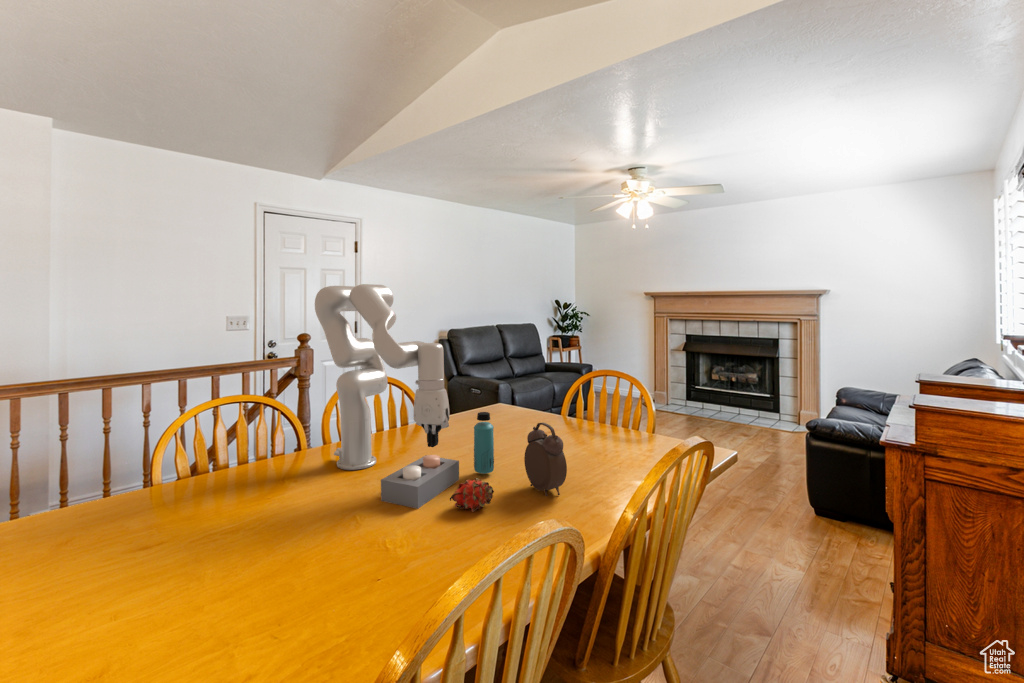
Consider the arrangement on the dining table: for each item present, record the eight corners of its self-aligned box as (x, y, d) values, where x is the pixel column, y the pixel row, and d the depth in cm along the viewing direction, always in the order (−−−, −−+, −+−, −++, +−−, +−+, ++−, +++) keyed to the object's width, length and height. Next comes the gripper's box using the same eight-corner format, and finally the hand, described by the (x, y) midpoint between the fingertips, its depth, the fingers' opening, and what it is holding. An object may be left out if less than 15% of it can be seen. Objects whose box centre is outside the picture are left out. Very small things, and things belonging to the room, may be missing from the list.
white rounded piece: (399, 484, 131) (399, 470, 130) (409, 477, 135) (409, 464, 135) (414, 487, 129) (414, 473, 128) (424, 480, 133) (424, 467, 133)
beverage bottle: (491, 479, 145) (491, 415, 143) (470, 477, 146) (470, 414, 145) (496, 471, 152) (496, 410, 150) (476, 470, 153) (476, 409, 151)
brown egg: (419, 472, 140) (419, 459, 139) (429, 466, 144) (429, 454, 144) (434, 474, 138) (434, 461, 137) (443, 469, 142) (443, 456, 142)
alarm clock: (570, 497, 132) (571, 428, 130) (549, 502, 129) (550, 431, 127) (542, 480, 145) (542, 416, 143) (521, 484, 141) (522, 419, 139)
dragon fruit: (497, 512, 126) (453, 524, 123) (489, 485, 132) (447, 495, 129) (498, 496, 120) (452, 507, 117) (490, 468, 126) (445, 478, 123)
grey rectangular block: (381, 500, 129) (380, 479, 128) (425, 473, 149) (425, 455, 149) (418, 508, 124) (417, 486, 124) (459, 479, 145) (459, 460, 144)
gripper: (402, 385, 138) (404, 446, 140) (446, 388, 132) (448, 452, 134) (417, 381, 145) (418, 439, 146) (459, 384, 139) (461, 445, 141)
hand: (432, 445), depth 140 cm, fingers closed
